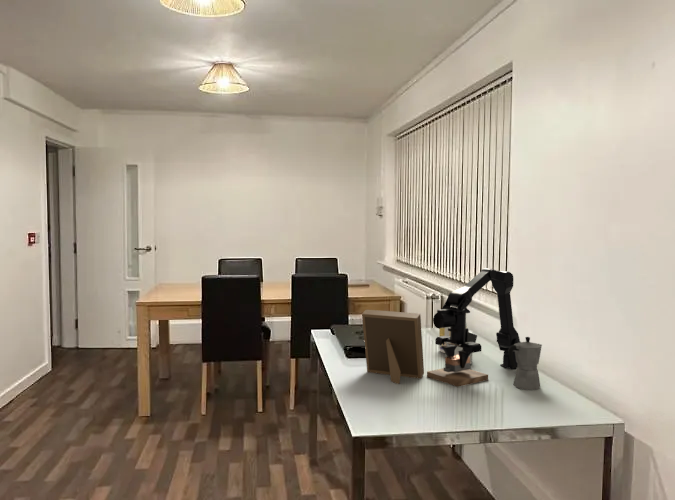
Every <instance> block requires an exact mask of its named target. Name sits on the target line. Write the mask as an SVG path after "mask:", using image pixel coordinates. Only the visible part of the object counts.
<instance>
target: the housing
mask: <svg viewBox="0 0 675 500" xmlns="http://www.w3.org/2000/svg"><path fill="white" fill-rule="evenodd" d="M443 368H444V371H446V372H458V371H463V370H468V369H470V370H471V364H470V357H468V359H467V362H466V364H465V367H464V368H461V364H460V358H459V355H455V356H449V357H447V356H445V360H444V367H443Z"/></svg>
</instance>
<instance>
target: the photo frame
mask: <svg viewBox="0 0 675 500" xmlns="http://www.w3.org/2000/svg"><path fill="white" fill-rule="evenodd" d="M421 316H422V315H421V313H418V312H416V313H414V312H406V311H405V312H403V311H401V312H400V311H393V310H392V311H391V310H379V309H378V310H377V309H365V310H364V311H363V312H362V313H361V318H362V329H363V341H364V342H365V363H366V364H365V365H366V371H367V373H371V374H372V373H373V374H374V373H375V374H381V375H388V376H390V382H392V383H394V384H397V385H400V382H401V377H403V378H413V379H420V380H421V379H422V378H423V376H424V374H425V368H424V366H425V364H424V352H423V351H424V349H423V336H422V335H423V334H422V333H423V331H422V319H421Z"/></svg>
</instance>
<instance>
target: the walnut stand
mask: <svg viewBox="0 0 675 500" xmlns="http://www.w3.org/2000/svg"><path fill="white" fill-rule="evenodd" d="M444 368H445V367H442V368H439V369H433V370H428V371H426V378H430V379H432V380H436V381H439V382H442V383H445V384H447V385H451V386H454V387H457V388H458V387H463V386H469V385H472V384H477V383H481V382H485V381H489V374H488V373H484V372H481V371H478V370H477V371H476V370H475V369H474V370H473V369H471V368H470V369H468V370H463V371H458V372H446V371H444Z"/></svg>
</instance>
